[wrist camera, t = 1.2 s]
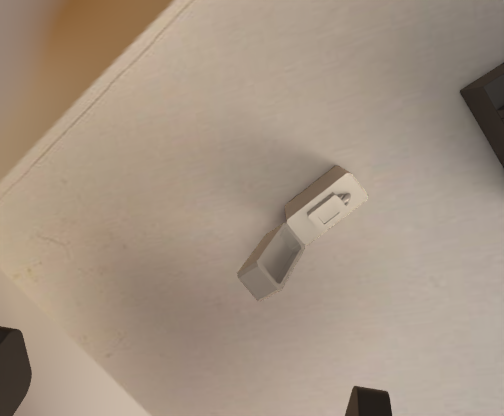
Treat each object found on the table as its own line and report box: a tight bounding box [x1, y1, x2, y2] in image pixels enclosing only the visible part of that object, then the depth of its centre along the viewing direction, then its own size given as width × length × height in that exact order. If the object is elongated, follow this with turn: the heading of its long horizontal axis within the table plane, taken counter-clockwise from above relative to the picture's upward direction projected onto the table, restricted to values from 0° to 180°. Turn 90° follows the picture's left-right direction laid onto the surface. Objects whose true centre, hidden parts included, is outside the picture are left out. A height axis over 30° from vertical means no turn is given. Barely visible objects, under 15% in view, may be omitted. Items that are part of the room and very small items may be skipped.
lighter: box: [237, 166, 368, 301], centre depth 24 cm, size 7×2×8 cm, turn 129°
